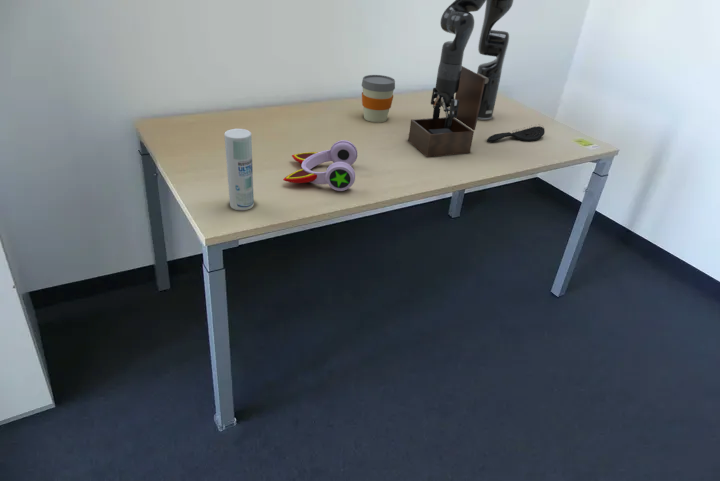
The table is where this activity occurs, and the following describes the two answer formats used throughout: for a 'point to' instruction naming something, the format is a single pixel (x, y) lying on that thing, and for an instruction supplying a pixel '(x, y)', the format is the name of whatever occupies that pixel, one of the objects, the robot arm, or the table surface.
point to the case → (440, 137)
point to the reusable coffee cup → (377, 97)
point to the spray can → (239, 168)
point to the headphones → (336, 174)
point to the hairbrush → (521, 134)
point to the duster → (439, 131)
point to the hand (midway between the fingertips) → (441, 123)
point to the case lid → (470, 96)
